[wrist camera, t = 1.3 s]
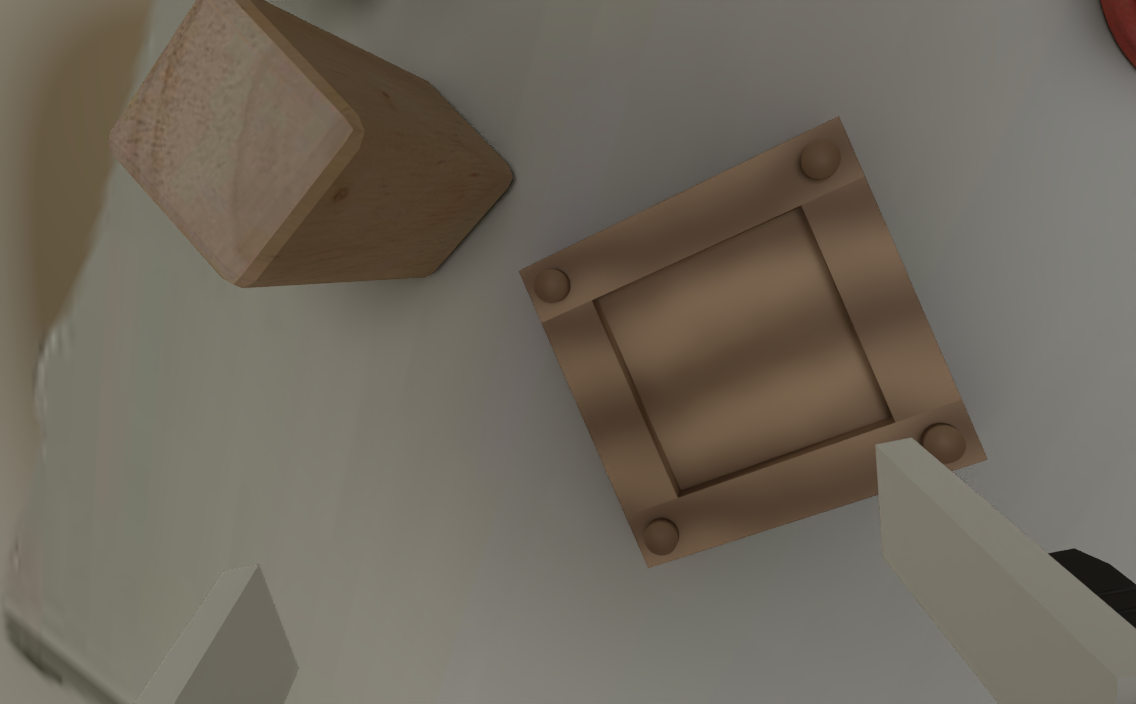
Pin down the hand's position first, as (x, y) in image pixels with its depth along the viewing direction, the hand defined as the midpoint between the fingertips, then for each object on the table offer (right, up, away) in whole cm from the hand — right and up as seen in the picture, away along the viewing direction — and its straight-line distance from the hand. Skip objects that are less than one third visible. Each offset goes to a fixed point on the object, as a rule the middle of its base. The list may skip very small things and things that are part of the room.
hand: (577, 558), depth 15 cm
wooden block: (-10, +16, +36) cm, 40 cm away
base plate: (+11, +5, +31) cm, 33 cm away
